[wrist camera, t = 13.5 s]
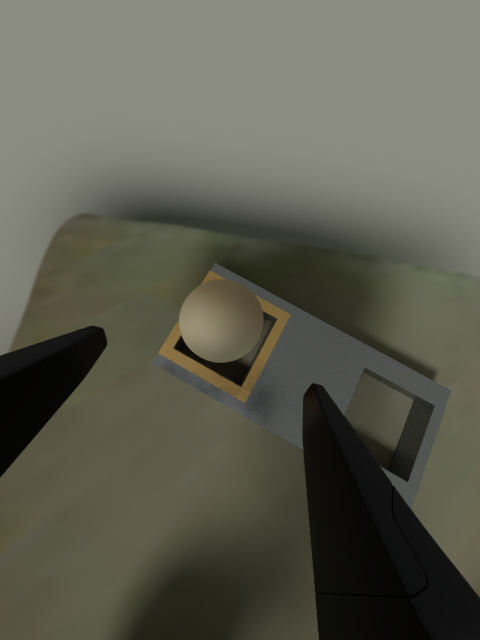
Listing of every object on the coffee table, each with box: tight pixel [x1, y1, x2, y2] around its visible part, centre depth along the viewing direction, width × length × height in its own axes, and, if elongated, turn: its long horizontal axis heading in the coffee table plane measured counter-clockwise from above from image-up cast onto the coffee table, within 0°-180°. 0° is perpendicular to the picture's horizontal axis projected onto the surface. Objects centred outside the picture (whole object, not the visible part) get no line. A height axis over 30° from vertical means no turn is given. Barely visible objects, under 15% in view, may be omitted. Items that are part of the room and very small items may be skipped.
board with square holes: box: [153, 263, 451, 508], centre depth 19 cm, size 25×11×2 cm, turn 61°
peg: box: [179, 279, 264, 363], centre depth 15 cm, size 4×4×10 cm
